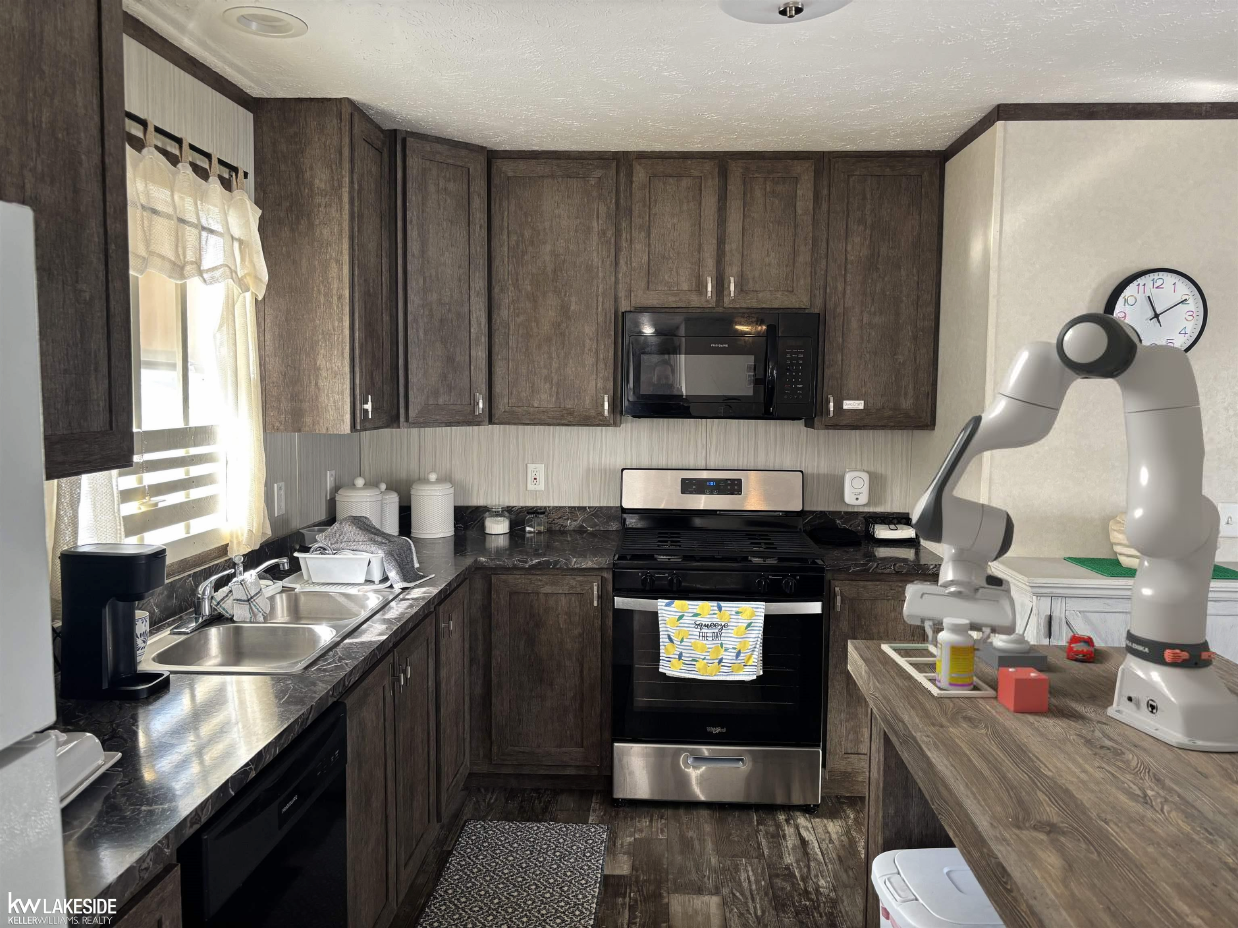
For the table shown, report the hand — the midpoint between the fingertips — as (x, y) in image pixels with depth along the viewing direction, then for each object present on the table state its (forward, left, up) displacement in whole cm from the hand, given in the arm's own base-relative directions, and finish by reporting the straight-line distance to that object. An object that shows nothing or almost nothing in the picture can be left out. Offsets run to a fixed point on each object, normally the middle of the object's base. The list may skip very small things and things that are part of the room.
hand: (955, 646), depth 162 cm
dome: (+16, -18, -5) cm, 25 cm away
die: (-9, -8, -8) cm, 15 cm away
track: (+11, 0, -8) cm, 13 cm away
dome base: (+16, -18, -8) cm, 25 cm away
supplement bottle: (+1, 0, -8) cm, 8 cm away
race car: (+21, -36, -8) cm, 43 cm away
